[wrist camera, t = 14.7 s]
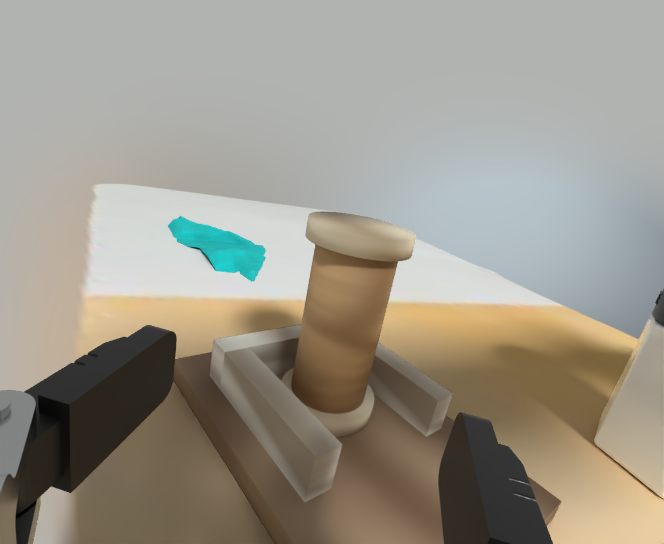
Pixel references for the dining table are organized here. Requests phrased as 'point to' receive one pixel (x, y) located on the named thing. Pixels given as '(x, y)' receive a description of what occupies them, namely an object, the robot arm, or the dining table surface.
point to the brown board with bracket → (326, 445)
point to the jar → (639, 408)
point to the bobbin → (345, 315)
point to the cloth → (220, 247)
